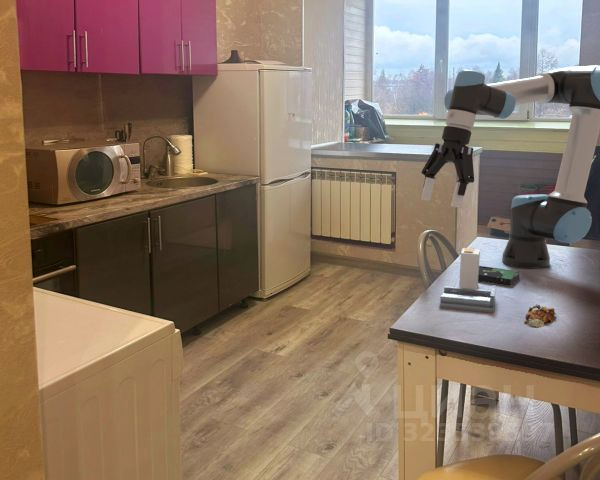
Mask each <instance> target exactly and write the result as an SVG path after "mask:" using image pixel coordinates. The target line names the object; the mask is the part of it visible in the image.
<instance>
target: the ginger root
mask: <svg viewBox="0 0 600 480" xmlns="http://www.w3.org/2000/svg"><path fill="white" fill-rule="evenodd" d="M555 316H557V313H556V312H555V308H553V307H551V308H549V307H548V308H547V306H546V305H542V306H541V305H540V304H535V305H533V306H532V307H531V306H530V307H529V308H528V311H527V313H526V315H525V318H524V319H525V320H524V322H523V323H524V324H526V326H527V327H534V328H543V327H544V326H545V323H546V322H548V321H550V323H551V324H553V323H554V321H555Z"/></svg>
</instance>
